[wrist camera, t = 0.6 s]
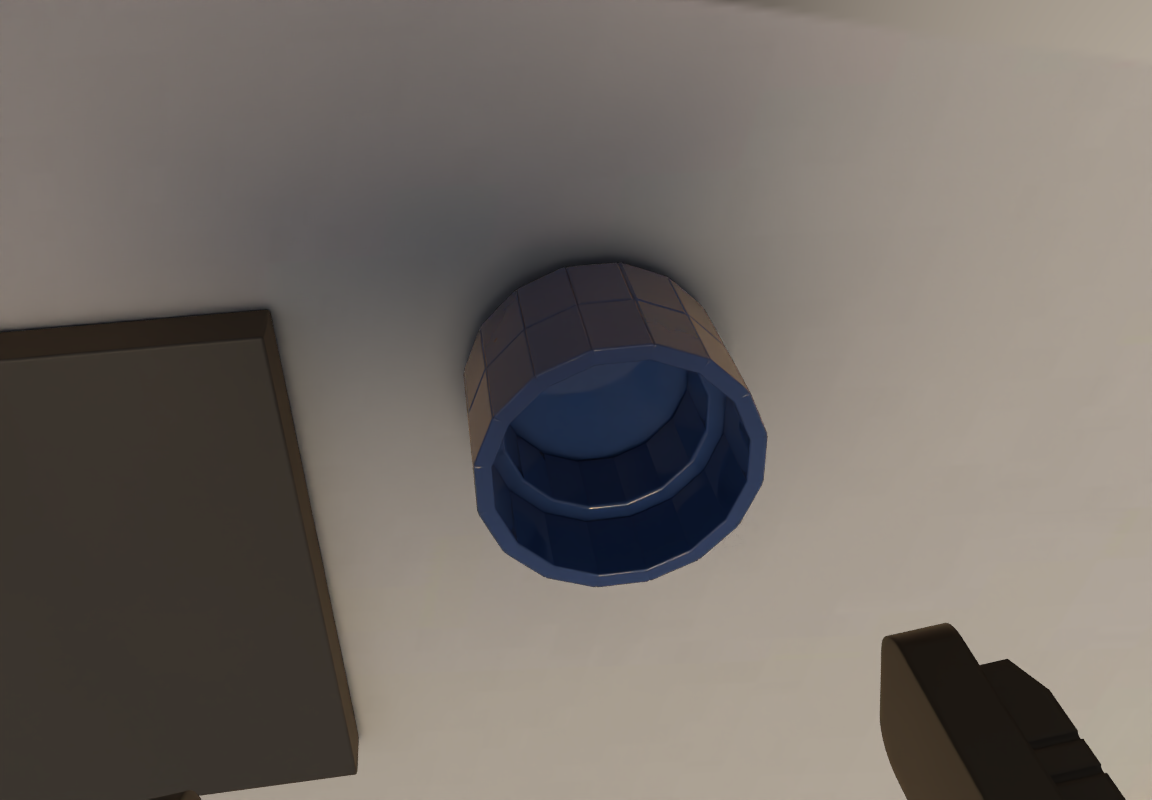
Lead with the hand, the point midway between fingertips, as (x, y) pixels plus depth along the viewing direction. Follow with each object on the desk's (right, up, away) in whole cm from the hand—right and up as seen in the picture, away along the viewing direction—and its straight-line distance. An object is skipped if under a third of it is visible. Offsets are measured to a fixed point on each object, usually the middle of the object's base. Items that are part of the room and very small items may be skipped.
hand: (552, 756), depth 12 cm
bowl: (+1, +5, +14) cm, 15 cm away
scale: (-13, -1, +15) cm, 20 cm away
